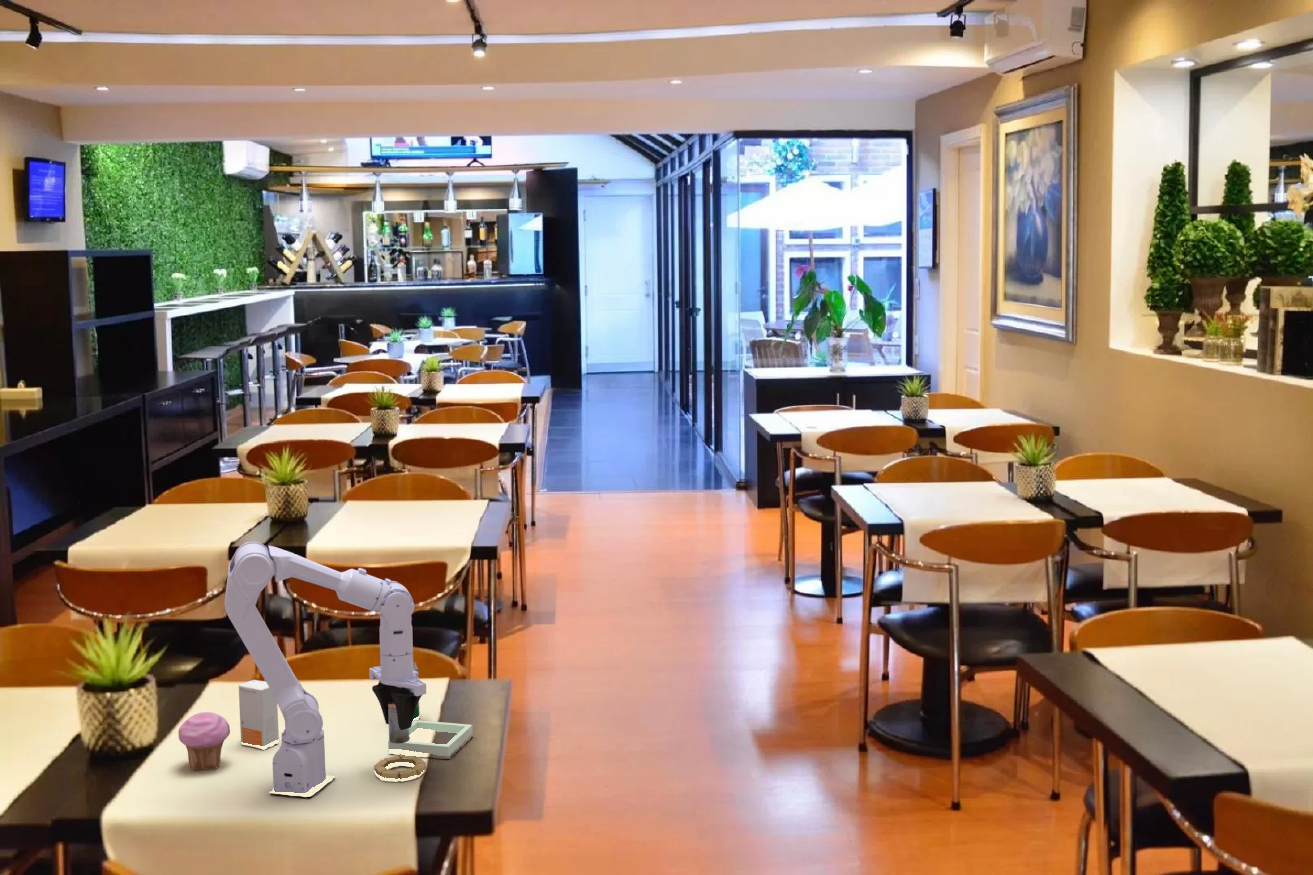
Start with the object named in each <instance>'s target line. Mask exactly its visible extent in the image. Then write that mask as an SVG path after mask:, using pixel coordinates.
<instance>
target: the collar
mask: <svg viewBox="0 0 1313 875" xmlns="http://www.w3.org/2000/svg"><path fill="white" fill-rule="evenodd" d="M395 762H409V763H413V764H414V765H415V766H414V767H413V768H407V769H403V770H393V769H389V770H387V769H386V768H385V767H386V766H388V764H390V763H395ZM425 769H426V770H427V762H425V760H423V758H422V757H416V756H405V755H402V756H401V755H393V756H390V757H386V758H383V759H380V760H379V761H378V762H376V764H374V767H373V771H374V770H375V771H376V773H377V774H378V775H380V776H382V777H384V778H385V777H386V778H395V779H398V778H400V779H402V778H408V777H410V776H414V775H420V774H421V772H423V770H425Z"/></svg>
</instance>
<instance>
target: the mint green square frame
mask: <svg viewBox="0 0 1313 875" xmlns="http://www.w3.org/2000/svg"><path fill="white" fill-rule="evenodd" d="M473 727H474V726H473V724H468V723H467V724H464V723H455V722H454V723H453V722H442V721H430V720H420V719H419V720H414V721H413V722H412V725H411V728H409V735H410V734H411V733H412V732H414V731H415V730H416V729H417V728H423V729H431V730H435V731H437V732H448V733H456V734H457V735H455V736H454V737H453V738H452V739H451V740H450V741H449V742H448V743H447V744H435V743H423V742H412V741H408V742H405V743H399V744H396V743H391V742H389V740H388V742H387V743H388V744H387V746H388V749H402V750H409V751H414V752H415V751H416V752H422V753H429V754H433V755H437V756H446V757H449V756H450V755H451V753H453V752H454V751H455V750H456V749H458V748H459V746H460V745H462V744H463V742H464V741H465V740H467V739H468V737H469V736H471V735H472V734H473V733H474V730H473V729H474V728H473ZM473 735H474V734H473Z"/></svg>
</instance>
